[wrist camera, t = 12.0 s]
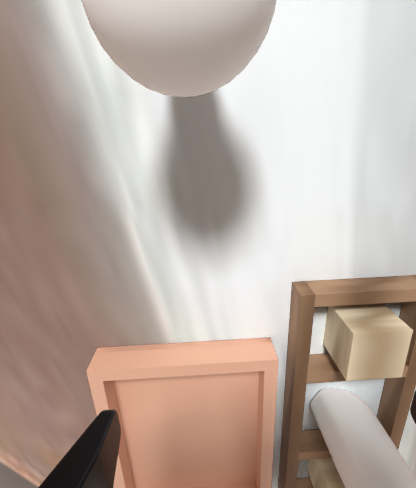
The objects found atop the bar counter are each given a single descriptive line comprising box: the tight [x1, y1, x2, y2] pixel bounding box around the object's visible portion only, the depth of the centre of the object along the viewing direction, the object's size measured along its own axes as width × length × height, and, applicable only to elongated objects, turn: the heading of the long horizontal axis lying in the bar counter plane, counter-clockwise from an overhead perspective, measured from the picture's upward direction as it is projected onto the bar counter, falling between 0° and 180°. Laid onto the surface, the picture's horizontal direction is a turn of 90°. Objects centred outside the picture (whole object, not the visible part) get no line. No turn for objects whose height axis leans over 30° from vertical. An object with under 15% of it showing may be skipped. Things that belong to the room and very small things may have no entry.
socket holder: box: [278, 275, 416, 488], centre depth 25 cm, size 10×24×2 cm, turn 2°
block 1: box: [308, 458, 345, 488], centre depth 27 cm, size 4×4×4 cm
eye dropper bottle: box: [310, 388, 416, 488], centre depth 21 cm, size 4×6×12 cm
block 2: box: [323, 303, 413, 381], centre depth 22 cm, size 4×4×4 cm
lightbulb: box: [81, 0, 276, 97], centre depth 11 cm, size 6×6×11 cm
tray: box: [87, 338, 278, 488], centre depth 25 cm, size 14×18×2 cm
